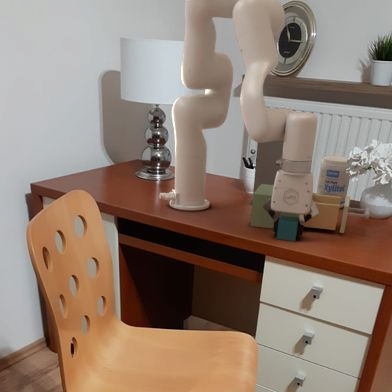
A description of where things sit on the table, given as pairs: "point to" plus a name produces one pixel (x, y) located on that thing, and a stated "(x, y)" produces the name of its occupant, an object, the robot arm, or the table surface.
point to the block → (287, 228)
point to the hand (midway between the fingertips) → (287, 235)
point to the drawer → (331, 212)
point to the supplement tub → (334, 178)
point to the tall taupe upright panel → (267, 162)
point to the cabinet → (258, 212)
